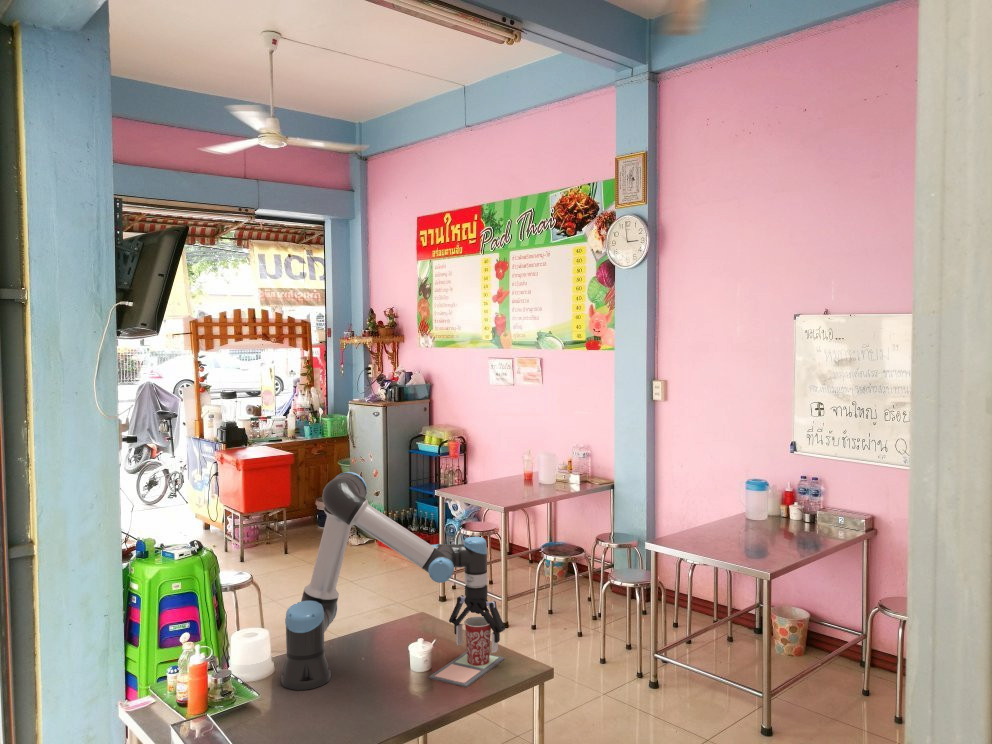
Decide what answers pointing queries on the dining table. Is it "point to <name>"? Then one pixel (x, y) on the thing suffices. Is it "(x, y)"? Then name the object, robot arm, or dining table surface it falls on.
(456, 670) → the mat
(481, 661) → the mug
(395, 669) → the dining table surface
